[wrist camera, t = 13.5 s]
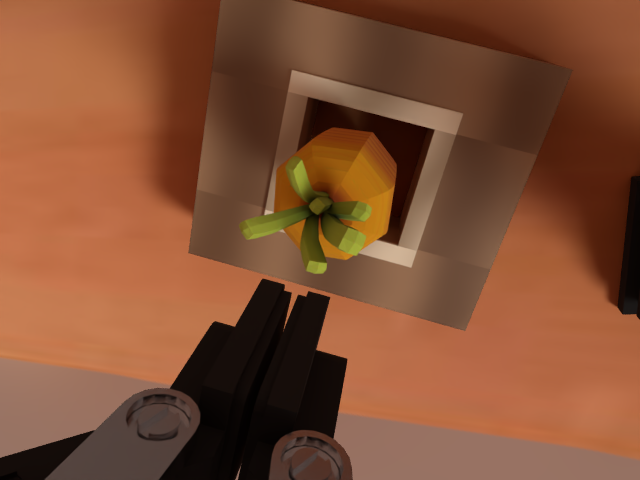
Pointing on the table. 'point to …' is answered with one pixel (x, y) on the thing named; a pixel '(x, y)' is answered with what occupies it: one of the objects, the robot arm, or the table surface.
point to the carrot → (331, 197)
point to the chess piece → (631, 255)
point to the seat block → (386, 100)
